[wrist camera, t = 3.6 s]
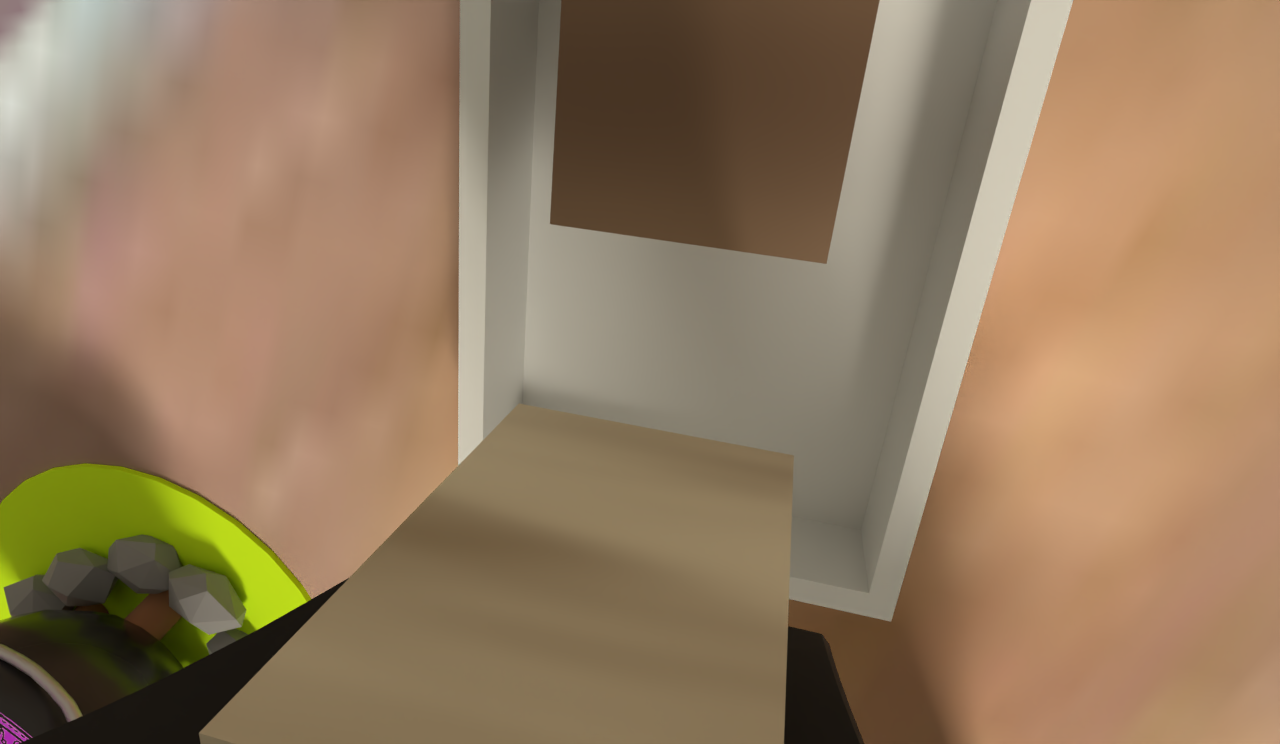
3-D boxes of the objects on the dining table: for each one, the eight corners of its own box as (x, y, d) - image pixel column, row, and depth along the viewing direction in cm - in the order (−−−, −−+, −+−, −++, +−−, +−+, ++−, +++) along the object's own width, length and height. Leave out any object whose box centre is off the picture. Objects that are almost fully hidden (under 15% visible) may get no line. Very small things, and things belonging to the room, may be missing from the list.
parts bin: (878, 543, 18) (890, 621, 16) (505, 467, 20) (458, 525, 17) (1049, -90, 13) (1114, -140, 10) (524, -122, 15) (460, -172, 12)
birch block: (748, 679, 11) (693, 1224, 6) (509, 620, 12) (254, 1060, 6) (793, 455, 10) (778, 902, 4) (518, 403, 10) (197, 733, 5)
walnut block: (819, 205, 15) (826, 264, 10) (638, 181, 16) (549, 224, 10) (859, -4, 14) (893, -73, 8) (657, -21, 14) (565, -94, 9)
